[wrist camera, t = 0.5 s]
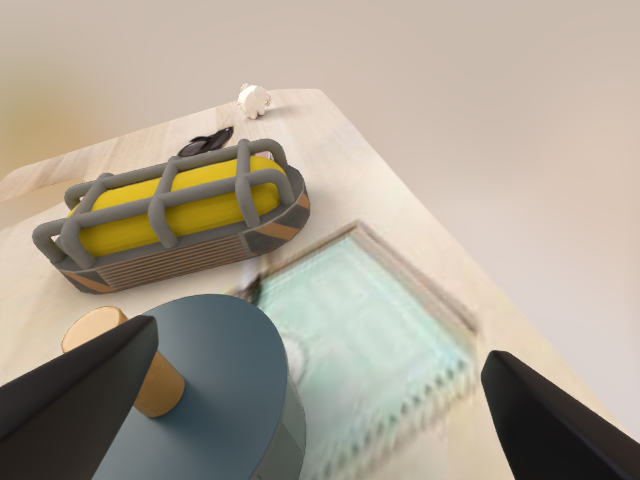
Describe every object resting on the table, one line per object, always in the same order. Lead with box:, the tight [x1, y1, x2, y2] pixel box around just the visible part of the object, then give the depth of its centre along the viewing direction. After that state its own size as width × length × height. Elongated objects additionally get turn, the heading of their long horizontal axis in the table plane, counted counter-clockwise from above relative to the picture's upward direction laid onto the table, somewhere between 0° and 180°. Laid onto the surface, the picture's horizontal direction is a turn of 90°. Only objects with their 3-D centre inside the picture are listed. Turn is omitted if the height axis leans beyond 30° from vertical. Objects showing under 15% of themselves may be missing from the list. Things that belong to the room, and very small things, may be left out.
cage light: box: [32, 139, 310, 294], centre depth 39 cm, size 15×8×30 cm
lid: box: [62, 294, 289, 480], centre depth 16 cm, size 13×13×7 cm
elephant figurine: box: [236, 83, 273, 119], centre depth 68 cm, size 7×8×6 cm
